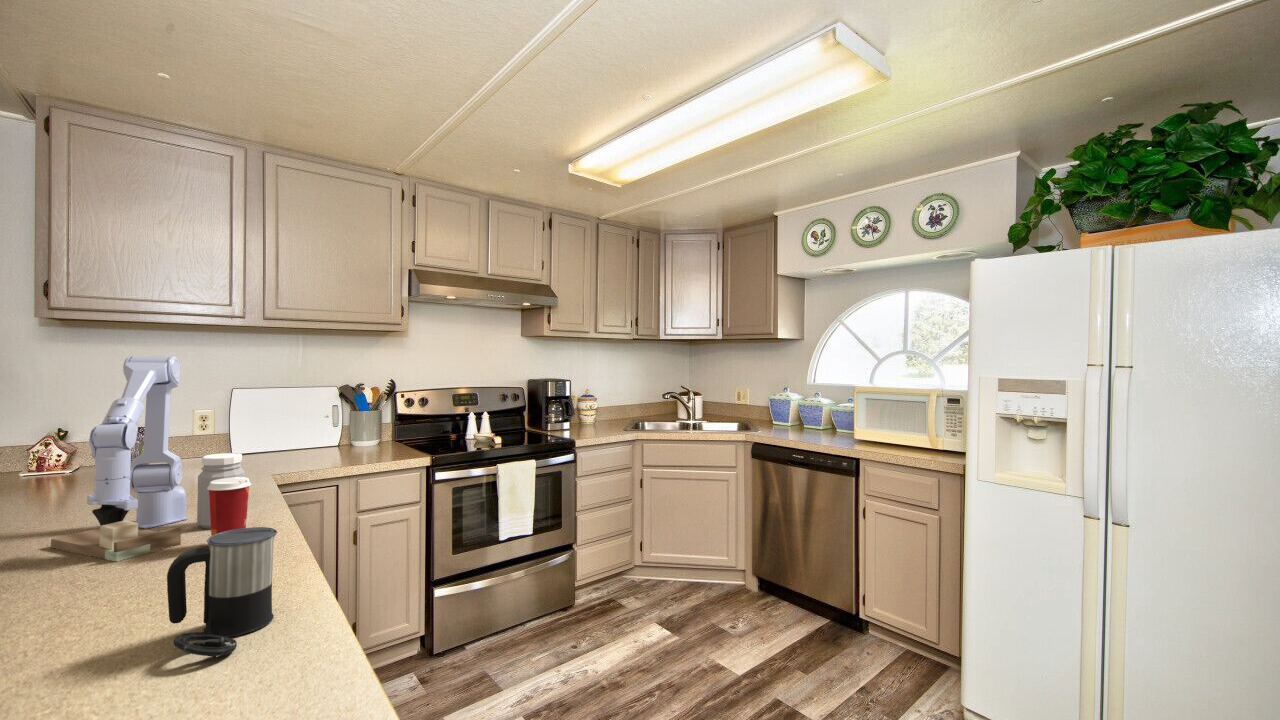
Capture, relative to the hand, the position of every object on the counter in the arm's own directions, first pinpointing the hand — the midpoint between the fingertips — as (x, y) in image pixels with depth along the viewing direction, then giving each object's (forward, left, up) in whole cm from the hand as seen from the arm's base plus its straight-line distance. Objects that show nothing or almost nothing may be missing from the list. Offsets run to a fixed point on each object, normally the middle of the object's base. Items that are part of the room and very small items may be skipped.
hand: (111, 539), depth 120 cm
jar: (-23, 0, -3) cm, 23 cm away
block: (0, +3, -1) cm, 3 cm away
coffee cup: (-13, +18, -3) cm, 22 cm away
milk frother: (+16, +62, -3) cm, 64 cm away
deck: (-3, -4, -3) cm, 6 cm away
